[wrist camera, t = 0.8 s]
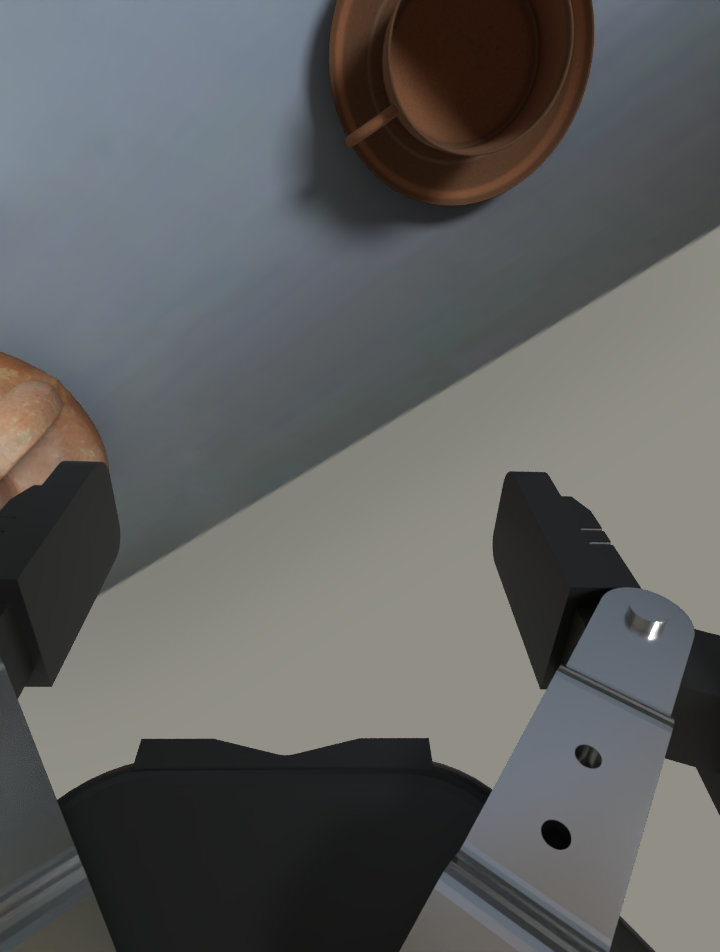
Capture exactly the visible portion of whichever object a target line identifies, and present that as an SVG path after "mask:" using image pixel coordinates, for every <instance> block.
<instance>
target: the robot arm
mask: <svg viewBox="0 0 720 952" xmlns="http://www.w3.org/2000/svg"><path fill="white" fill-rule="evenodd" d="M119 545H120V525H119V520H118V515H117V510H116V505H115V500H114V494H113V489H112V484H111V479H110V474H109V470H108V468H107V466H106V464H105V463H104V462H97V461H62V462H60V463H59V464H58V466H57V467H56V468H55V469H54V471H53V472H52V473H51V474H50V476H49V477H48V478H47V479H46V481H45V482H44V483H43V484H42V485H33V486H31V487H29V488H28V489H26V490H24V491H23V492H21V493H20V494H18V495H16V496H15V497H13V498H11V499H10V500H9V501H8V502H7V503H6V504H5V506H4V507H3V508H2V509H1V510H0V952H655V951H654V950H653V949H652V948H651V947H650V946H649V945H648V944H647V943H646V942H645V941H644V940H643V939H642V938H641V937H640V936H639V935H638V934H637V932H636V931H635V930H634V929H633V928H632V927H630V925H629V924H627V922H626V921H625V920H624V919H623V918H622V917H621V916H620V912H621V909H622V905H623V902H624V898H625V895H626V891H627V887H628V884H629V881H630V877H631V874H632V870H633V866H634V863H635V860H636V856H637V853H638V849H639V846H640V842H641V839H642V835H643V832H644V828H645V824H646V821H647V818H648V814H649V811H650V807H651V804H652V800H653V796H654V793H655V790H656V786H657V783H658V779H659V776H660V772H661V769H662V765H663V762H664V758H666V759H669V760H673V761H676V762H680V763H683V764H687V765H690V766H694V767H696V768H697V770H698V772H699V774H700V776H701V778H702V781H703V782H704V784H705V787H706V789H707V791H708V793H709V795H710V797H711V799H712V801H713V803H714V805H715V807H716V809H717V811H718V813H719V815H720V636H719V635H716V634H711V633H707V632H703V631H700V630H696V629H694V626H693V624H692V621H691V620H690V618H689V617H688V615H687V614H686V613H685V612H684V611H683V610H682V609H681V608H680V607H678V606H677V605H676V604H674V603H673V602H671V601H670V600H668V599H667V598H665V597H663V596H661V595H658V594H656V593H653V592H651V591H648V590H643V589H641V587H640V586H639V584H638V583H637V581H636V580H635V578H634V577H633V575H632V573H631V572H630V570H629V569H628V567H627V566H626V564H625V563H624V562H623V560H622V558H621V557H620V555H619V554H618V552H617V551H616V549H615V547H614V546H613V545H611V544H610V540H609V538H608V537H607V535H606V534H605V532H604V531H602V528H601V526H600V525H599V523H598V522H597V520H596V518H595V517H594V515H593V514H592V512H591V511H590V510H588V509H587V508H586V507H585V506H583V505H582V504H580V503H579V502H578V501H577V500H575V499H574V498H573V497H566V496H565V497H564V496H561V495H560V494H559V492H558V490H557V489H556V487H555V485H554V484H553V482H552V480H551V479H550V477H549V476H548V474H547V473H545V472H511V471H510V472H508V473H507V475H506V476H505V479H504V483H503V488H502V493H501V498H500V503H499V508H498V513H497V518H496V523H495V529H494V534H493V556H494V561H495V565H496V567H497V570H498V573H499V576H500V579H501V581H502V584H503V587H504V590H505V593H506V595H507V598H508V601H509V604H510V606H511V609H512V612H513V615H514V617H515V620H516V623H517V626H518V629H519V631H520V634H521V637H522V640H523V642H524V645H525V648H526V651H527V654H528V656H529V659H530V662H531V665H532V668H533V670H534V673H535V676H536V679H537V681H538V684H539V687H540V689H547V690H546V692H545V694H544V695H543V697H542V699H541V701H540V703H539V705H538V706H537V708H536V710H535V712H534V714H533V716H532V718H531V719H530V721H529V723H528V725H527V727H526V729H525V731H524V732H523V734H522V736H521V738H520V740H519V742H518V743H517V745H516V747H515V749H514V751H513V753H512V755H511V757H510V758H509V760H508V762H507V764H506V766H505V768H504V769H503V771H502V773H501V775H500V777H499V779H498V781H497V783H496V784H495V786H494V788H493V790H492V789H491V788H490V787H488V786H486V785H485V784H483V783H482V782H480V781H479V780H477V779H475V778H474V777H471V776H470V775H468V774H466V773H464V772H462V771H460V770H457V769H455V768H452V767H449V766H447V765H444V764H441V763H436V762H433V761H432V758H431V750H430V744H429V738H378V739H377V738H370V739H369V738H365V739H363V738H361V739H360V738H359V739H356V740H351V741H347V742H343V743H339V744H335V745H331V746H326V747H323V748H318V749H314V750H310V751H306V752H302V753H298V754H294V755H278V754H273V753H269V752H265V751H261V750H257V749H253V748H249V747H245V746H240V745H237V744H233V743H229V742H224V741H220V740H216V739H141V743H140V746H139V749H138V752H137V755H136V759H135V762H134V763H133V764H129V765H125V766H122V767H119V768H117V769H114V770H111V771H108V772H106V773H103V774H101V775H99V776H97V777H95V778H93V779H91V780H88V781H87V782H85V783H83V784H81V785H80V786H78V787H76V788H74V789H73V790H71V791H69V792H68V793H66V794H65V795H64V796H62V797H61V798H59V799H58V800H57V799H56V797H55V794H54V791H53V789H52V786H51V784H50V781H49V779H48V776H47V774H46V771H45V769H44V766H43V763H42V761H41V758H40V756H39V753H38V750H37V748H36V745H35V743H34V740H33V738H32V735H31V732H30V730H29V727H28V725H27V722H26V720H25V717H24V715H23V712H22V710H21V707H20V705H19V702H18V697H19V696H20V694H21V692H22V690H23V688H24V687H26V686H27V687H52V685H53V683H54V681H55V679H56V677H57V675H58V673H59V671H60V668H61V667H62V665H63V663H64V661H65V659H66V657H67V655H68V653H69V651H70V649H71V647H72V645H73V643H74V641H75V639H76V637H77V635H78V633H79V631H80V629H81V627H82V625H83V623H84V621H85V619H86V617H87V615H88V613H89V611H90V609H91V607H92V605H93V603H94V601H95V599H96V597H97V595H98V593H99V591H100V589H101V587H102V585H103V583H104V581H105V579H106V577H107V575H108V573H109V571H110V569H111V567H112V565H113V563H114V561H115V559H116V557H117V554H118V550H119Z"/></svg>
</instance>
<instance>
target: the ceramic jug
mask: <svg viewBox="0 0 720 952" xmlns="http://www.w3.org/2000/svg"><path fill="white" fill-rule="evenodd" d="M62 461H97V462H104V463H105V464H106V466H107V468H108V470H109V465H108V460H107V455H106V451H105V448H104V445H103V442H102V440H101V437H100V435H99V433H98V431H97V429H96V427H95V425H94V424H93V422H92V420H91V419H90V417H89V416H88V414H87V413H86V412H85V410H84V409H83V408H82V406H81V405H80V404H79V403H78V402H77V400H76V399H75V398H74V397H73V396H72V394H71V393H70V392H69V391H68V390H67V389H65V387H64V386H63V385H62V384H61V383H60V381H59V380H58V379H57V378H54V377H52V376H50V375H48V374H47V373H45V372H44V371H42V370H40V369H38V368H36V367H34V366H32V365H30V364H28V363H26V362H24V361H22V360H20V359H18V358H15V357H13V356H10V355H8V354H5V353H2V352H0V510H1V509H2V508H3V507H4V506H5V504H6V503H7V502H8V501H9V500H10V499H11V498H13V497H15V496H16V495H18V494H20V493H21V492H23V491H24V490H26V489H28V488H29V487H31V486H33V485H42V484H43V483H44V482H45V481H46V479H47V478H48V477H49V476H50V474H51V473H52V472H53V471H54V469H55V468H56V467H57V466H58V464H59V463H60V462H62Z"/></svg>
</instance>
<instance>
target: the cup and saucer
mask: <svg viewBox="0 0 720 952" xmlns="http://www.w3.org/2000/svg"><path fill="white" fill-rule="evenodd" d="M593 47H594V13H593V5H592V0H337V2H336V6H335V9H334V13H333V19H332V24H331V30H330V41H329V73H330V82H331V89H332V95H333V99H334V103H335V107H336V110H337V113H338V116H339V119H340V122H341V124H342V127H343V129H344V131H345V134H346V136H347V137H346V139H345V145H346V146H347V147H353V148H354V150H355V151H356V153H357V154H358V156H359V157H360V159H361V160H362V161H363V162H364V163H365V165H366V166H367V167H368V168H369V169H370V170H371V171H372V172H373V173H374V174H375V175H376V176H377V177H378V178H379V179H380V180H382V181H383V182H384V183H385V184H387V185H388V186H390V187H391V188H393V189H394V190H396V191H397V192H399V193H401V194H403V195H405V196H407V197H410V198H412V199H415V200H418V201H421V202H425V203H429V204H435V205H446V206H456V205H466V204H472V203H477V202H480V201H484V200H487V199H490V198H492V197H495V196H497V195H500V194H502V193H504V192H505V191H507V190H509V189H511V188H513V187H514V186H516V185H517V184H519V183H520V182H522V181H523V180H524V179H526V178H527V177H528V176H529V175H531V174H532V173H533V172H534V171H535V170H536V169H537V168H538V167H539V166H540V165H541V164H542V163H543V162H544V161H545V160H546V159H547V158H548V157H549V156H550V155H551V153H552V152H553V151H554V149H555V148H556V147H557V145H558V144H559V143H560V141H561V140H562V138H563V136H564V135H565V133H566V132H567V130H568V128H569V126H570V125H571V123H572V121H573V119H574V117H575V115H576V112H577V110H578V108H579V106H580V103H581V100H582V97H583V95H584V92H585V89H586V85H587V81H588V78H589V73H590V68H591V63H592V56H593Z"/></svg>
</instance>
